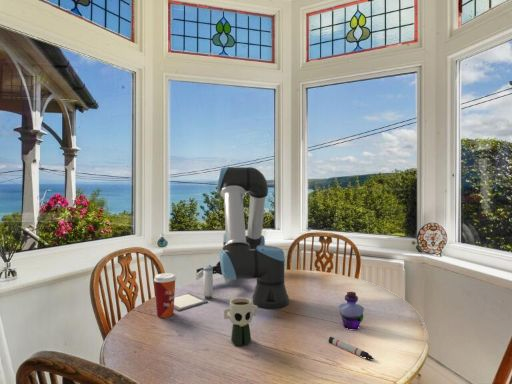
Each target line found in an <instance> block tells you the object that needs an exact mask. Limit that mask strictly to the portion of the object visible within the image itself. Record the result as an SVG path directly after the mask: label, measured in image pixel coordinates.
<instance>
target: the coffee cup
mask: <svg viewBox="0 0 512 384" xmlns="http://www.w3.org/2000/svg"><path fill="white" fill-rule="evenodd" d="M176 279H177V277H176V275H175V274H174V273H171V272H164V273H163V272H162V273H158V274H155V276H154V279H153V282H154V291H155V293H154V294H155V304H156V314H157V315H156V317H158V318H162V319H167V318H170V317H172V316H173V315H174V311H175V309H174V297H176V296H175V295H176V294H175V293H176V292H175V291H176V290H175V289H176Z"/></svg>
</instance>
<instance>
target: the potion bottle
mask: <svg viewBox="0 0 512 384" xmlns="http://www.w3.org/2000/svg"><path fill="white" fill-rule="evenodd" d="M344 300H345V301H346V302H344V303H340V305H338V311H339V315H340V317H341V320H342V327H343V326H344V327H345V328H348V329H358V327H360V324H361V322H363V319H364V316H365V315H364V311H365V307H364V306H362V305H360V304H357V302H358V301H359V296H357V293H356V292H355V291H347V292H346V294H345V296H344ZM344 327H343V328H344ZM345 328H344V329H345ZM348 329H347V330H348ZM358 330H359V329H358Z"/></svg>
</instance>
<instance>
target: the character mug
mask: <svg viewBox="0 0 512 384" xmlns="http://www.w3.org/2000/svg"><path fill="white" fill-rule="evenodd" d="M258 308H259V307H258V306H257V305H254V304H253V302H252V299H250V298H247V297H236V298H233V299H230V300H229V308H227V307H226V308H224V309H223V319H224V320H229V321H230V322H231V324H233V325H232V328H231V340H230V341H231V342H232V344H233V345H236V346H242V345H243V343H244V345H248V344H250V343H251V342H252V339H251V338H252V337H251V335H252V334H251V328H250V323H251V322H252V321H253V316H258ZM253 310H254V312H253ZM228 312H229V315H228Z"/></svg>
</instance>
